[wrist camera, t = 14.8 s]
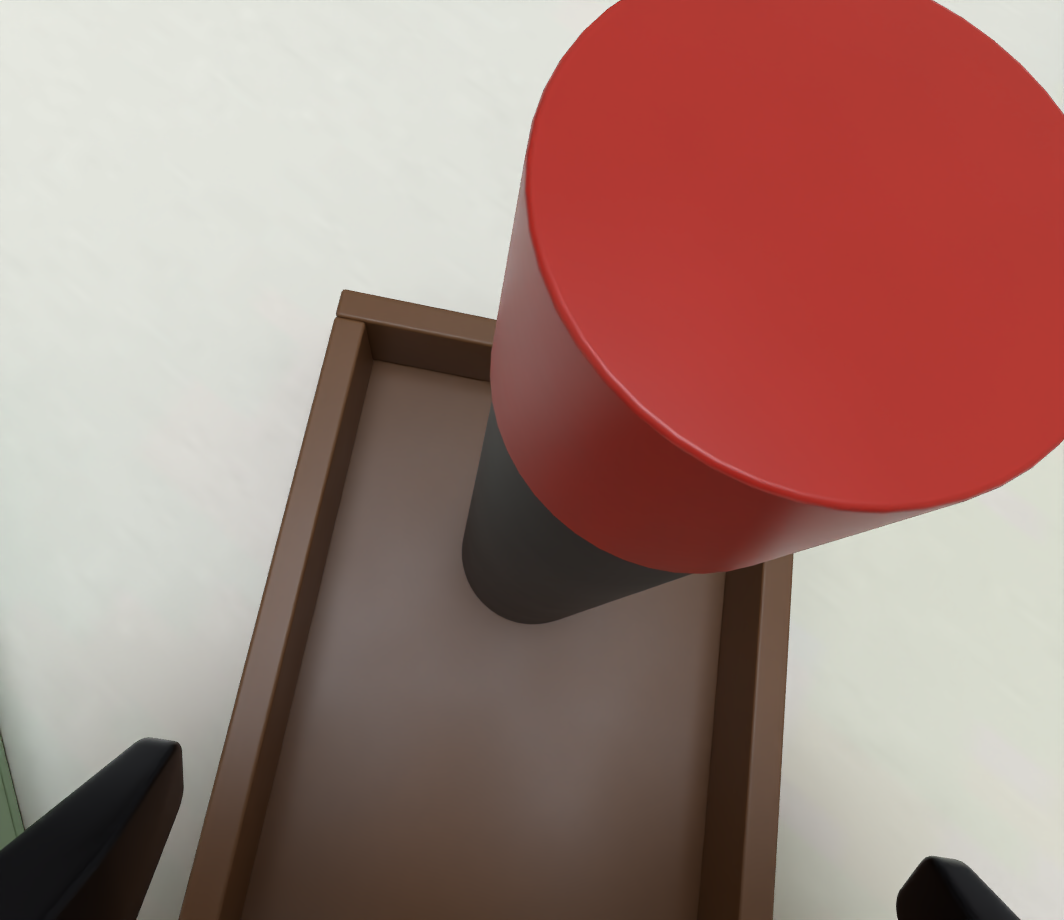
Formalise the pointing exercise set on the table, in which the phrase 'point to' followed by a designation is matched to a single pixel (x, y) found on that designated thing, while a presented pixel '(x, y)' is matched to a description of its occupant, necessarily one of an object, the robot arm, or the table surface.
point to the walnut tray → (478, 691)
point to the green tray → (8, 805)
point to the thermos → (765, 294)
